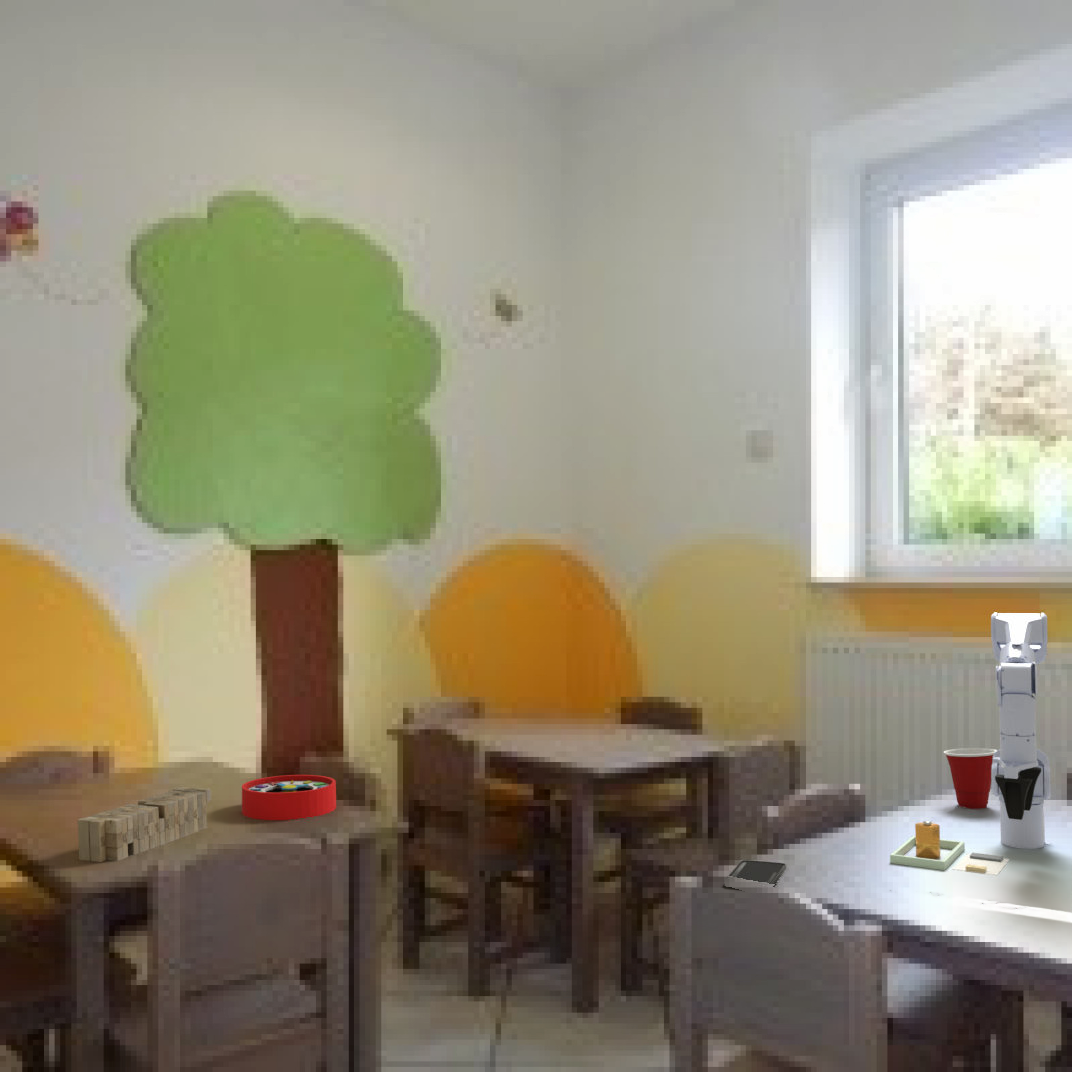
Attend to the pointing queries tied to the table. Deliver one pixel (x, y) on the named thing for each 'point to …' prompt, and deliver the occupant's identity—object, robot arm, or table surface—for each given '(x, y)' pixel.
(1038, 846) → the robot arm
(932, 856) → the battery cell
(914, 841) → the pale green rectangular frame
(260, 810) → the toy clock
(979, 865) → the cream rectangular pad
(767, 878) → the phone
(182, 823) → the block tower
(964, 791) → the plastic cup
